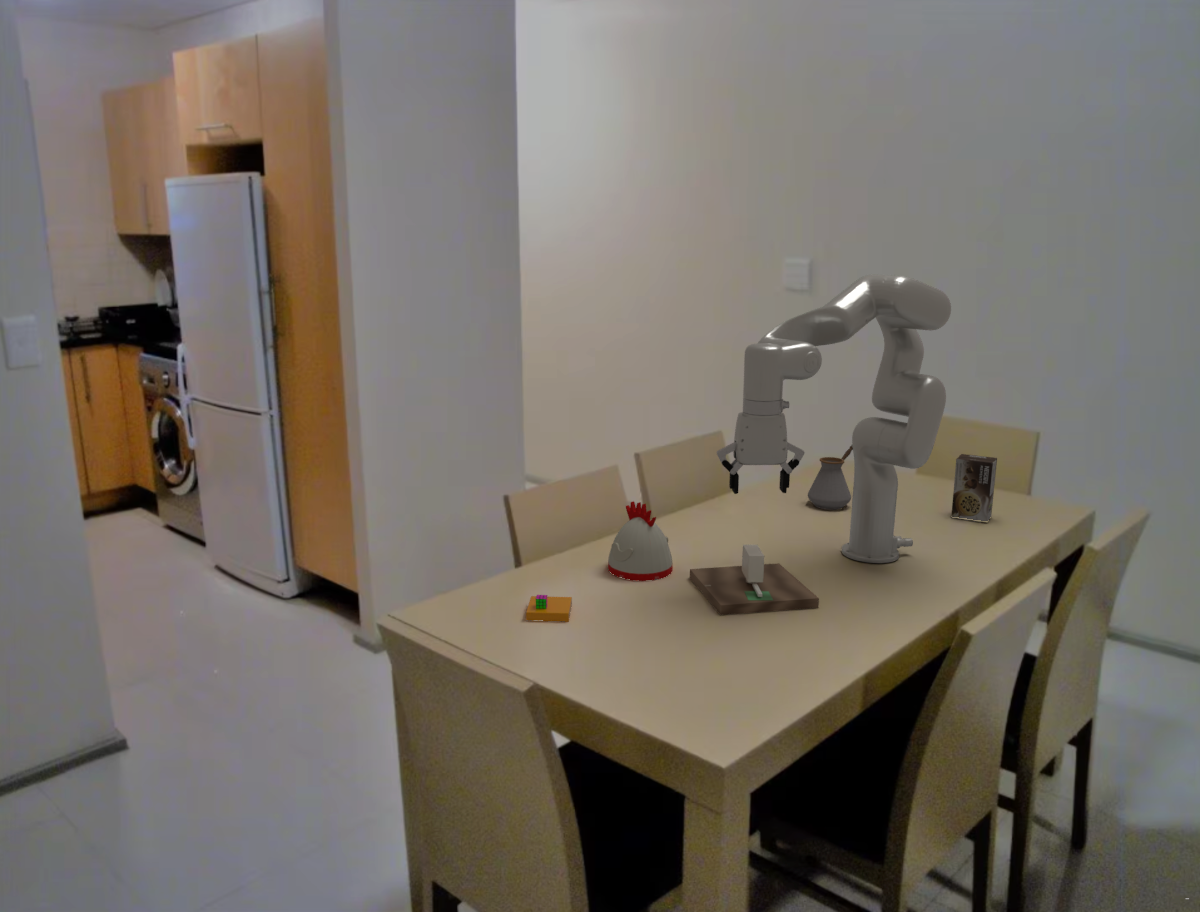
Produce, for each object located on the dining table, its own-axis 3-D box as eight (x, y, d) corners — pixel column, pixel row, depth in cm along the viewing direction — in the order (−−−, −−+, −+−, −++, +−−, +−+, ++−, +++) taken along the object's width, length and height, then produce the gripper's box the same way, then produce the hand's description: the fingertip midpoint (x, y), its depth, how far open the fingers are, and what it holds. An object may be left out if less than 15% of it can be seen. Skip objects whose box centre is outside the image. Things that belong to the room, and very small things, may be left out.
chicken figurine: (638, 554, 208) (640, 490, 204) (685, 570, 198) (687, 503, 195) (594, 569, 198) (595, 502, 195) (641, 586, 188) (642, 516, 185)
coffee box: (991, 518, 238) (998, 457, 234) (987, 524, 233) (994, 462, 229) (955, 512, 243) (961, 453, 239) (949, 518, 237) (955, 457, 234)
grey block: (741, 575, 188) (742, 544, 187) (755, 575, 188) (757, 544, 187) (752, 597, 177) (754, 564, 175) (767, 597, 177) (769, 564, 175)
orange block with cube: (531, 606, 178) (530, 586, 178) (571, 607, 178) (571, 587, 177) (526, 623, 171) (525, 602, 170) (568, 624, 170) (568, 603, 169)
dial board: (778, 572, 197) (779, 562, 197) (818, 607, 178) (819, 597, 177) (689, 578, 193) (689, 568, 193) (720, 615, 174) (720, 604, 174)
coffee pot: (839, 514, 239) (843, 458, 236) (799, 506, 246) (802, 452, 243) (871, 497, 256) (876, 445, 252) (833, 490, 263) (836, 439, 259)
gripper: (801, 403, 182) (797, 486, 187) (715, 404, 182) (712, 487, 186) (811, 410, 175) (806, 496, 179) (721, 411, 175) (719, 497, 179)
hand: (758, 491), depth 183 cm, fingers open, 9 cm apart
